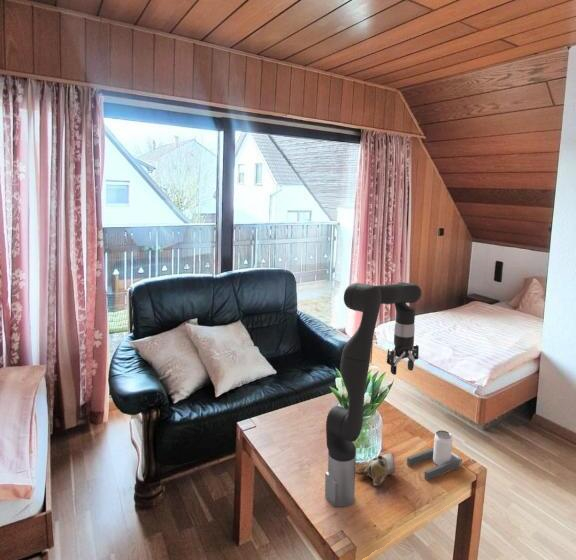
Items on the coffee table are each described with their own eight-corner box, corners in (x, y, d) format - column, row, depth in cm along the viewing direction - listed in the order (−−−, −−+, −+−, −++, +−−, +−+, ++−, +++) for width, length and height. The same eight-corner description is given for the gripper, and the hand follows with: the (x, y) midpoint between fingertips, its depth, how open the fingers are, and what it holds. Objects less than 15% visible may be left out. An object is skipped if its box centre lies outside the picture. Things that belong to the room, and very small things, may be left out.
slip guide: (426, 480, 158) (427, 473, 157) (406, 464, 167) (407, 457, 166) (461, 465, 166) (462, 458, 165) (440, 451, 175) (441, 444, 174)
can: (431, 464, 167) (433, 436, 164) (434, 455, 173) (436, 428, 170) (449, 469, 164) (451, 440, 161) (451, 459, 170) (453, 432, 167)
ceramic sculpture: (403, 456, 158) (374, 473, 150) (403, 476, 160) (374, 494, 152) (382, 442, 166) (353, 458, 158) (382, 461, 169) (354, 478, 160)
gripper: (396, 339, 161) (394, 379, 165) (424, 333, 168) (422, 371, 171) (383, 333, 168) (381, 372, 171) (411, 327, 174) (408, 365, 178)
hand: (402, 371), depth 171 cm, fingers open, 8 cm apart
